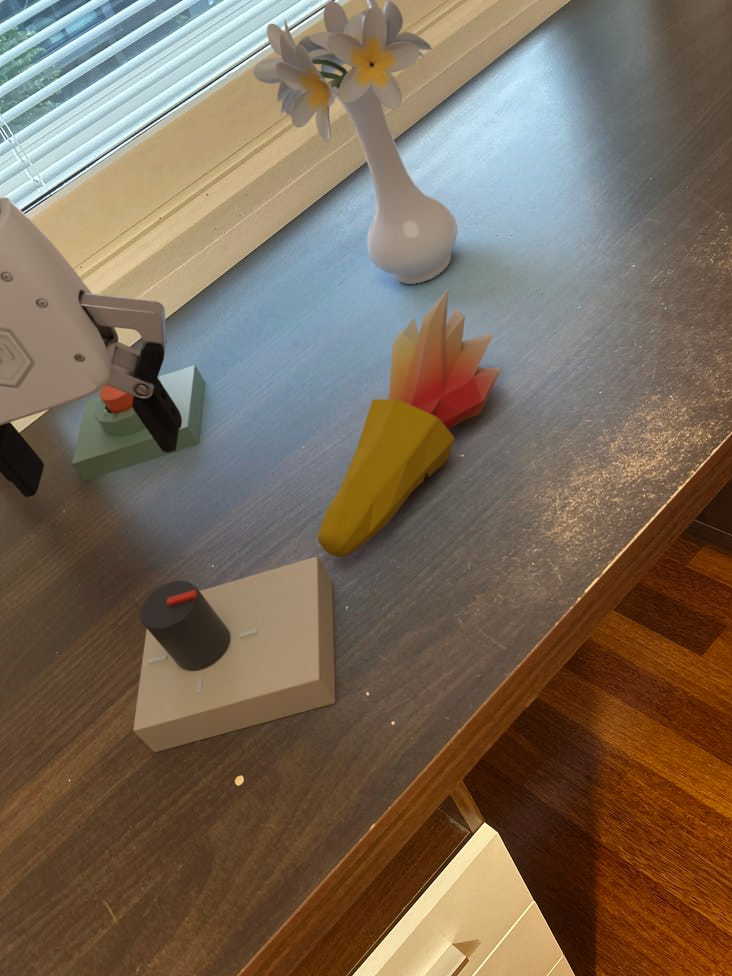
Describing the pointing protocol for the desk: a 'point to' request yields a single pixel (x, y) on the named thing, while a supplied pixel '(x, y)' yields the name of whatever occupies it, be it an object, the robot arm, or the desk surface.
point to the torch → (409, 425)
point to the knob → (185, 625)
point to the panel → (246, 660)
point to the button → (116, 399)
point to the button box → (136, 428)
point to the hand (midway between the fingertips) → (103, 460)
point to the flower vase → (366, 125)
